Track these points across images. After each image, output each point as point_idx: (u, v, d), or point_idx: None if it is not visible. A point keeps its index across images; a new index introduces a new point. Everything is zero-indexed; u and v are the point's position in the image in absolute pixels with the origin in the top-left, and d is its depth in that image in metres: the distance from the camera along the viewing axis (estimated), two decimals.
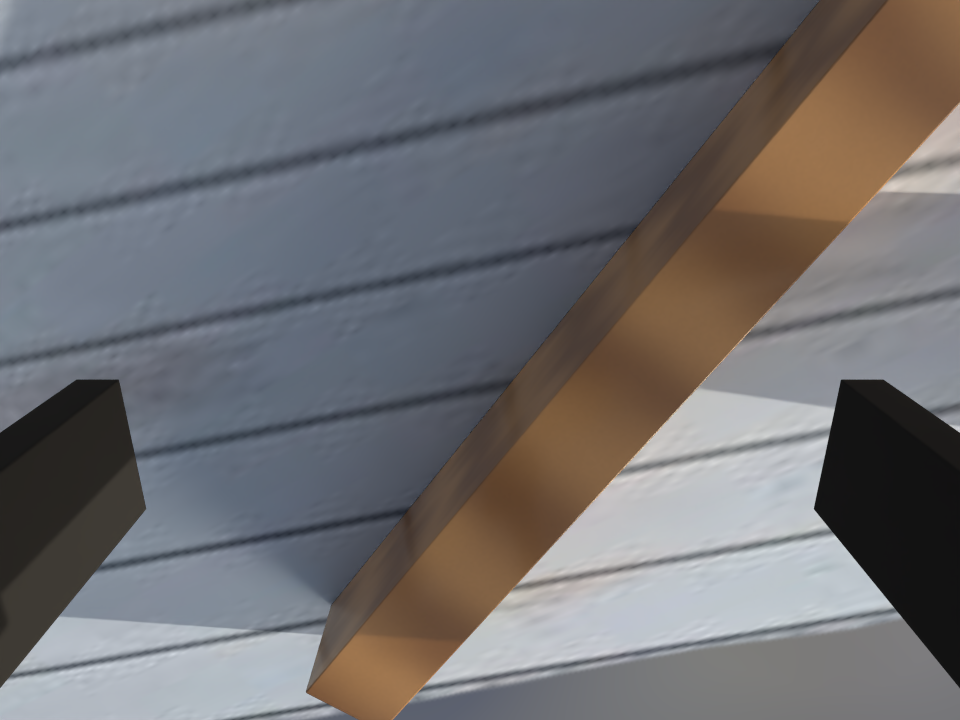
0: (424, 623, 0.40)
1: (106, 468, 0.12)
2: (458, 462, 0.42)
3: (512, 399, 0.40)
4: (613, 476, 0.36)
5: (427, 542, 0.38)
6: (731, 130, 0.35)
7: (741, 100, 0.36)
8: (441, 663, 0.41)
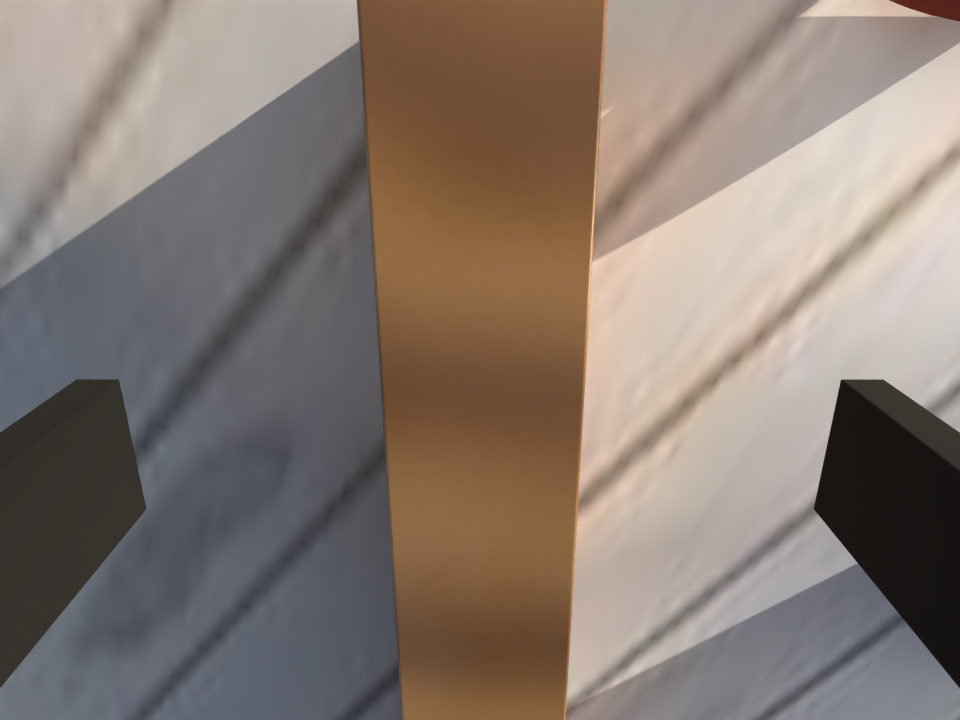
0: None
1: (106, 468, 0.12)
2: None
3: None
4: None
5: None
6: None
7: None
8: None
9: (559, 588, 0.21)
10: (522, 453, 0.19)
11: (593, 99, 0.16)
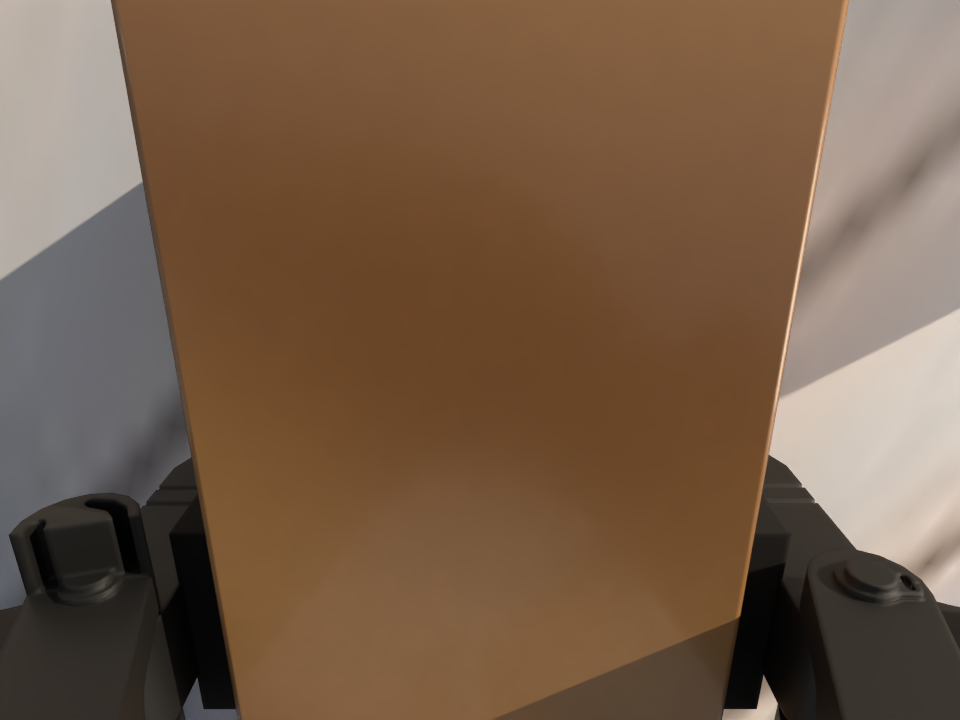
0: None
1: None
2: None
3: None
4: None
5: None
6: None
7: None
8: None
9: None
10: None
11: (775, 314, 0.06)
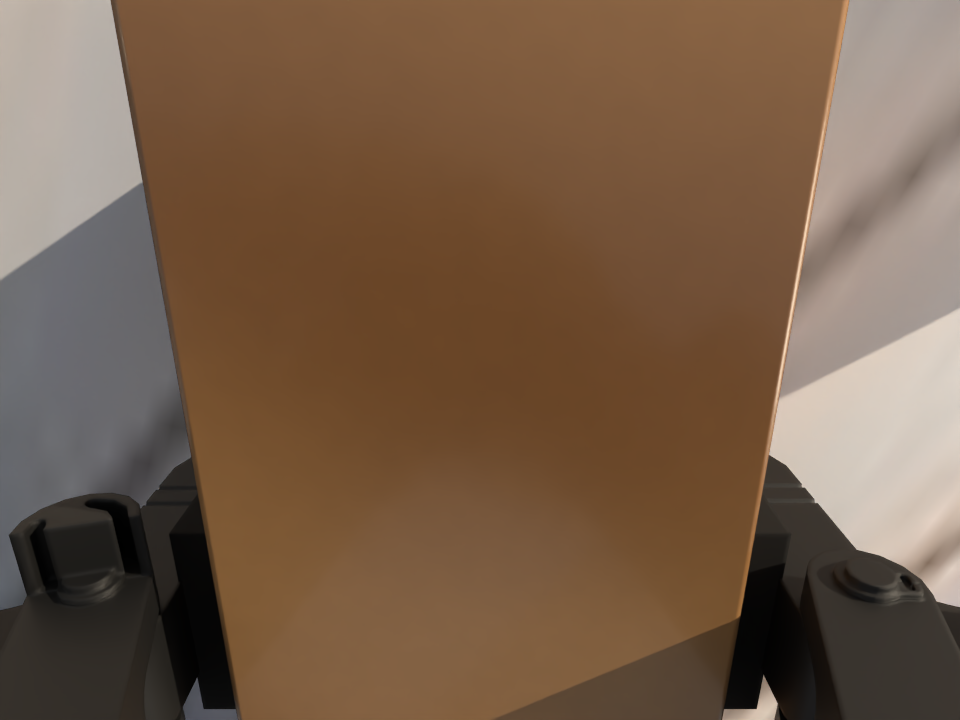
0: None
1: None
2: None
3: None
4: None
5: None
6: None
7: None
8: None
9: None
10: None
11: (775, 315, 0.06)
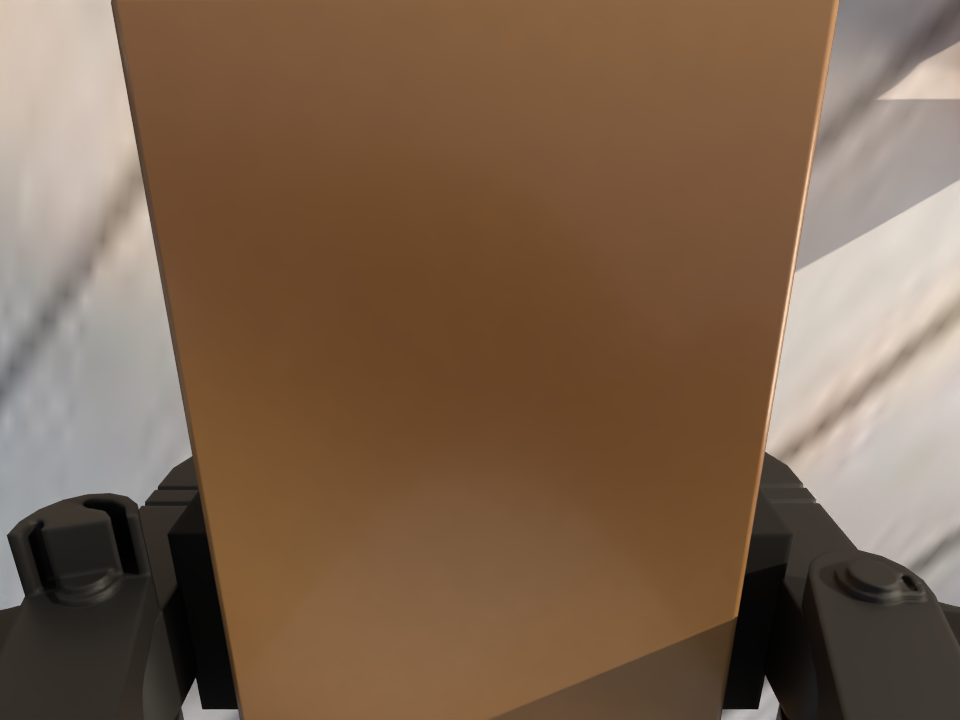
0: None
1: None
2: None
3: None
4: None
5: None
6: None
7: None
8: None
9: None
10: None
11: (769, 311, 0.06)
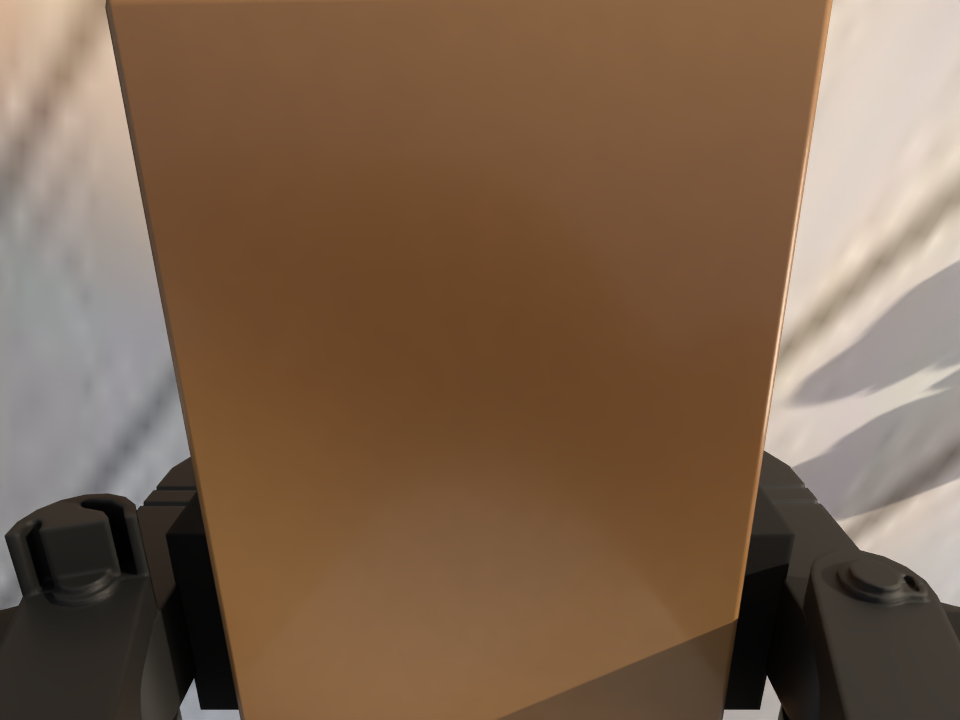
0: None
1: None
2: None
3: None
4: None
5: None
6: None
7: None
8: None
9: None
10: None
11: (767, 309, 0.06)
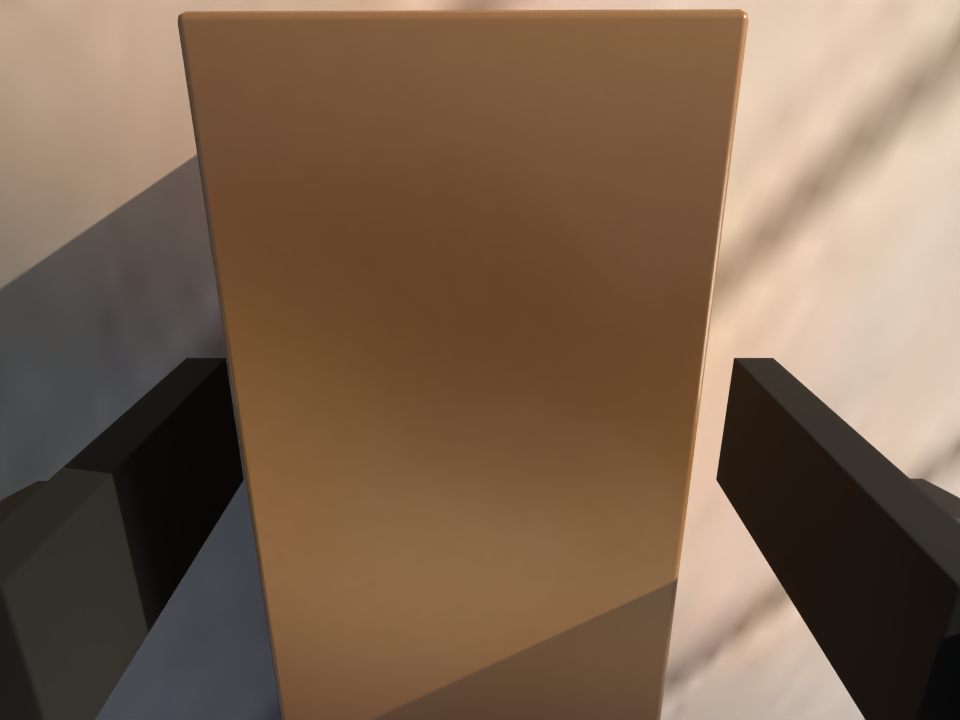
0: None
1: (217, 439, 0.13)
2: None
3: None
4: None
5: None
6: None
7: None
8: None
9: None
10: None
11: (701, 269, 0.07)
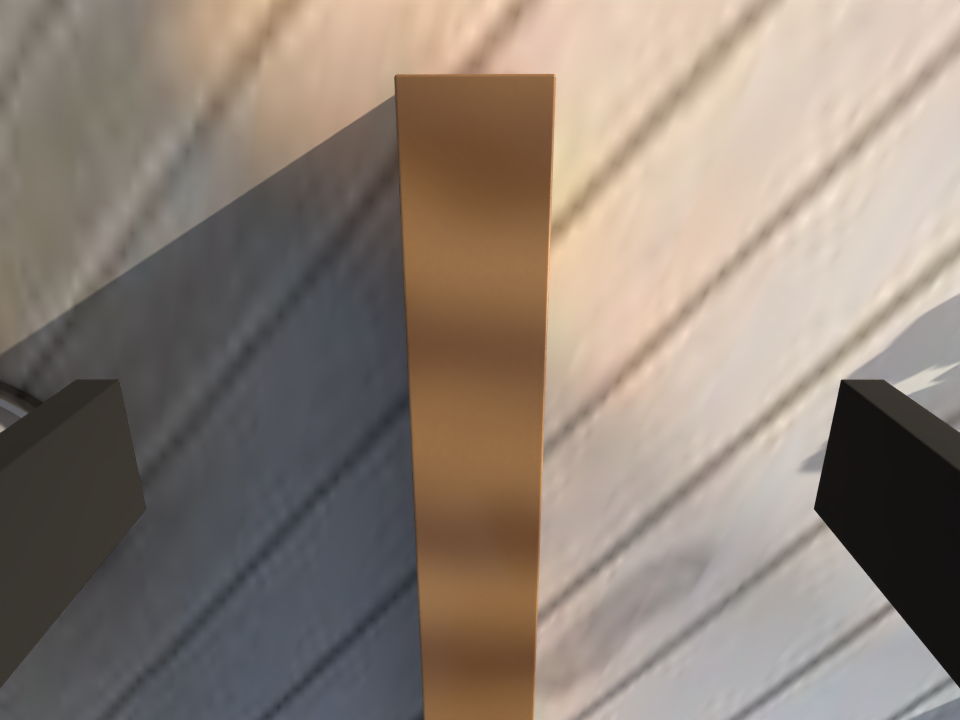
0: None
1: (106, 468, 0.12)
2: None
3: None
4: None
5: None
6: None
7: None
8: None
9: (531, 491, 0.29)
10: (503, 391, 0.28)
11: (548, 151, 0.24)
